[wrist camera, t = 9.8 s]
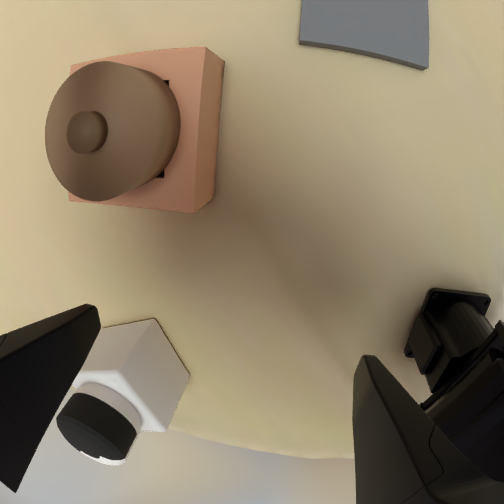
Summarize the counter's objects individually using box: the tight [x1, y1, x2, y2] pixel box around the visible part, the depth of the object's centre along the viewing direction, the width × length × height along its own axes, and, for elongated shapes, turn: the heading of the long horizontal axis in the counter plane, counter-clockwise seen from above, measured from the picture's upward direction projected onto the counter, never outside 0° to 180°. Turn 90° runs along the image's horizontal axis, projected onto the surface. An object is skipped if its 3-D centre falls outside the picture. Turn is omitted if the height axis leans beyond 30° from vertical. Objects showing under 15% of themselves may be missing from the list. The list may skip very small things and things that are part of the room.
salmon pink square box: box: [69, 47, 225, 213], centre depth 17 cm, size 9×9×4 cm
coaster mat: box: [299, 0, 429, 70], centre depth 13 cm, size 8×8×1 cm
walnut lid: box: [45, 61, 181, 202], centre depth 13 cm, size 7×7×4 cm
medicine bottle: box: [56, 319, 190, 465], centre depth 21 cm, size 7×7×12 cm
